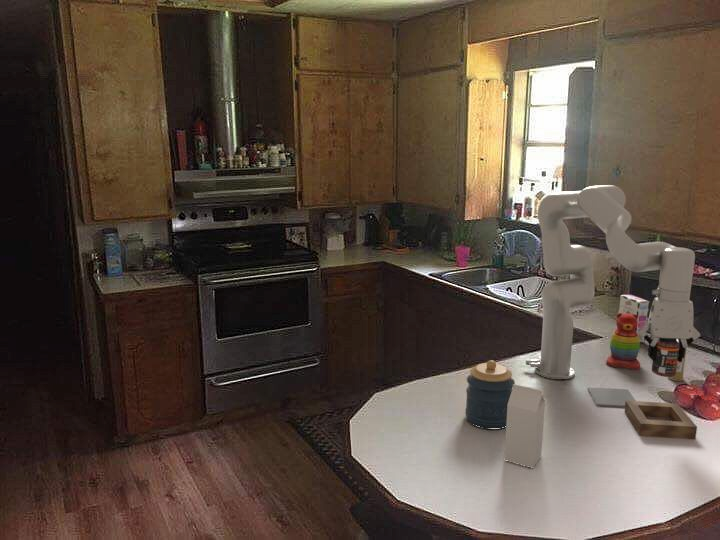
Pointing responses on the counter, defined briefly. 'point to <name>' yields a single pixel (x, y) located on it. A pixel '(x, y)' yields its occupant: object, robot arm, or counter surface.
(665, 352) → the supplement bottle
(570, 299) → the robot arm
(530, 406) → the milk carton
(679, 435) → the pocket block
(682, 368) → the sprinkles bottle
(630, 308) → the candy bar box
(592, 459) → the counter surface
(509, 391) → the canister
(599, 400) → the slate coaster
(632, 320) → the stacking bear
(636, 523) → the counter surface
